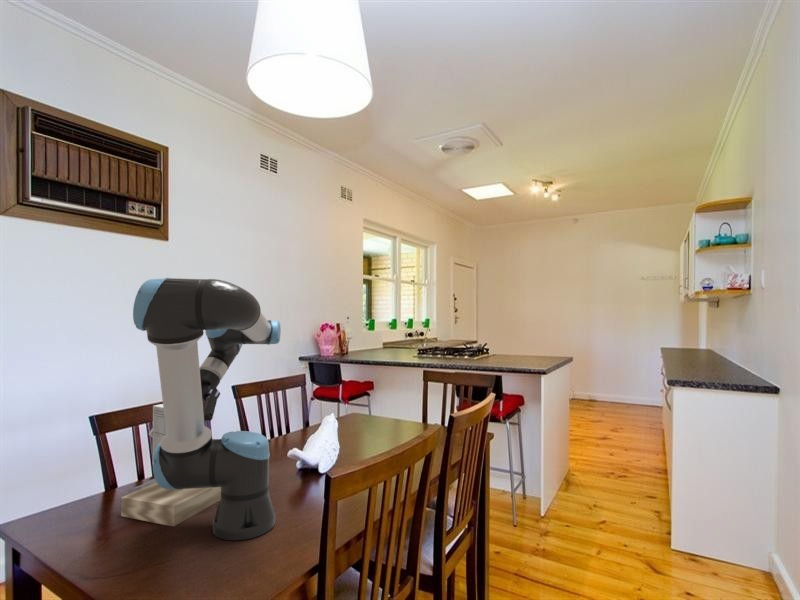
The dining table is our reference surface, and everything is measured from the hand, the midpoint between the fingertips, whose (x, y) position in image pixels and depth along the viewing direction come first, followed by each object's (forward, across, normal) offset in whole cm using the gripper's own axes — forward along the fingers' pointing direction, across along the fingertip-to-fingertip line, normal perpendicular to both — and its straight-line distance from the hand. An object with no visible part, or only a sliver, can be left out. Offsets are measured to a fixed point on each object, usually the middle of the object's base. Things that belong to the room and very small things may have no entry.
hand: (168, 438), depth 123 cm
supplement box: (+4, 0, -8) cm, 9 cm away
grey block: (+9, +14, -20) cm, 26 cm away
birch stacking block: (+12, 0, -16) cm, 20 cm away
